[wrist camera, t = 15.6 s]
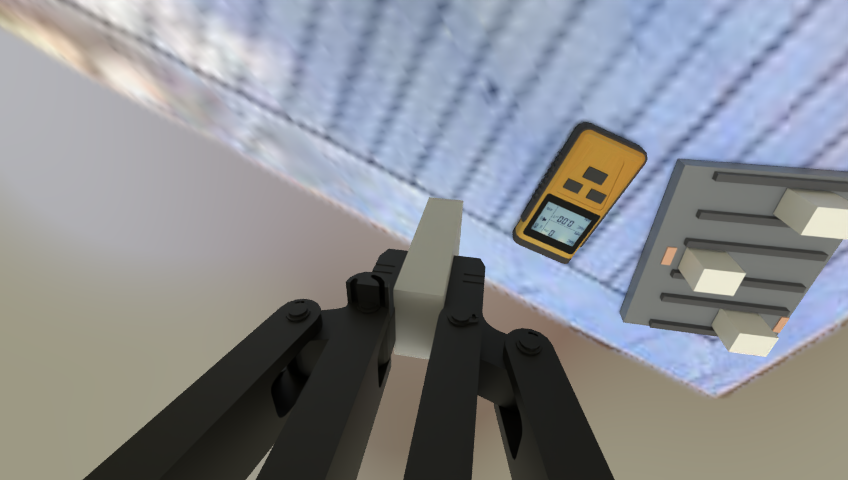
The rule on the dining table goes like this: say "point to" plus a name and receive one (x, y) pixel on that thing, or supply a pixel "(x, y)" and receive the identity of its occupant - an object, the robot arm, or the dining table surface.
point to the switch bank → (729, 245)
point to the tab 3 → (814, 213)
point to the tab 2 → (744, 332)
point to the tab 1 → (711, 271)
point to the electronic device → (578, 192)
